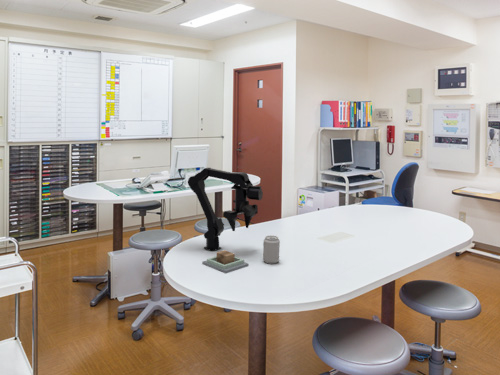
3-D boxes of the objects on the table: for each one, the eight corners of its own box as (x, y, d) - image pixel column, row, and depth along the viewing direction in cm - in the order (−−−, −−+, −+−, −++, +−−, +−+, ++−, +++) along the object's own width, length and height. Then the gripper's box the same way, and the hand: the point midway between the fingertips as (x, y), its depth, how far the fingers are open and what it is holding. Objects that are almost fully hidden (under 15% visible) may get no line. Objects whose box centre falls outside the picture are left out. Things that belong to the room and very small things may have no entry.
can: (265, 264, 190) (266, 239, 189) (261, 259, 198) (261, 235, 196) (281, 263, 192) (282, 238, 191) (275, 258, 200) (276, 234, 198)
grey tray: (202, 263, 190) (202, 258, 189) (225, 257, 200) (225, 252, 199) (225, 273, 179) (225, 267, 178) (248, 265, 189) (248, 260, 188)
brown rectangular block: (216, 261, 190) (216, 252, 189) (224, 259, 193) (225, 250, 193) (226, 265, 185) (226, 256, 184) (234, 263, 188) (234, 254, 187)
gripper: (238, 203, 190) (238, 236, 193) (266, 198, 203) (265, 229, 206) (222, 199, 198) (222, 231, 200) (249, 195, 211) (249, 225, 213)
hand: (240, 229), depth 205 cm, fingers open, 9 cm apart
